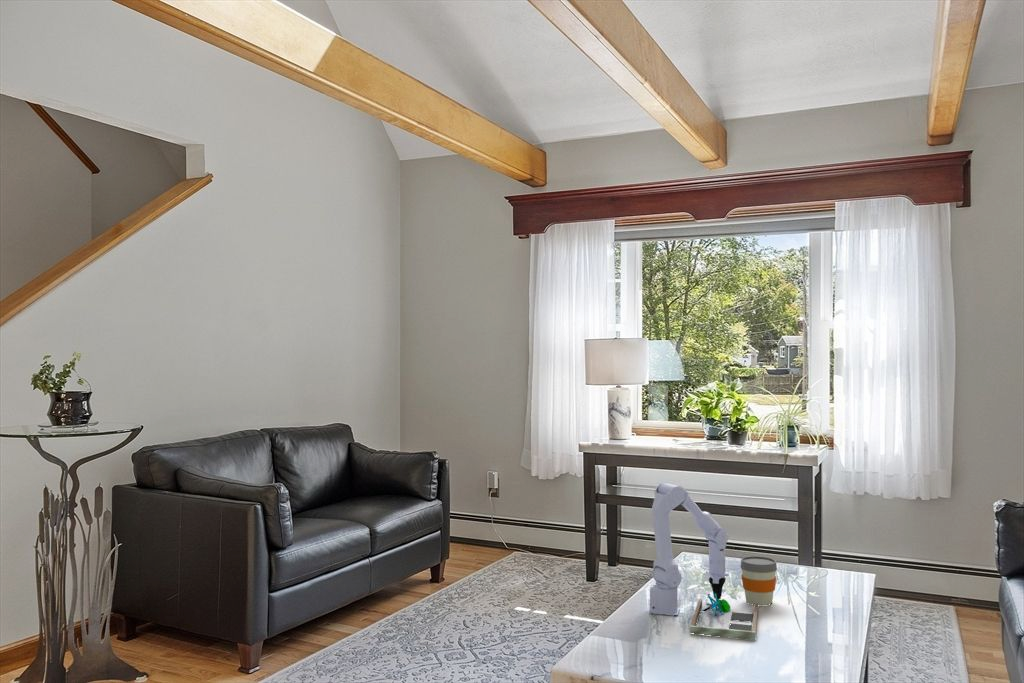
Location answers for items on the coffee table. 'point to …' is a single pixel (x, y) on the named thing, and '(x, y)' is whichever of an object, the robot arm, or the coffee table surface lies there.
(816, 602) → the coffee table surface
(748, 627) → the mats
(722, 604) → the stick construction toy
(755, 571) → the reusable coffee cup
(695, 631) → the channel box
